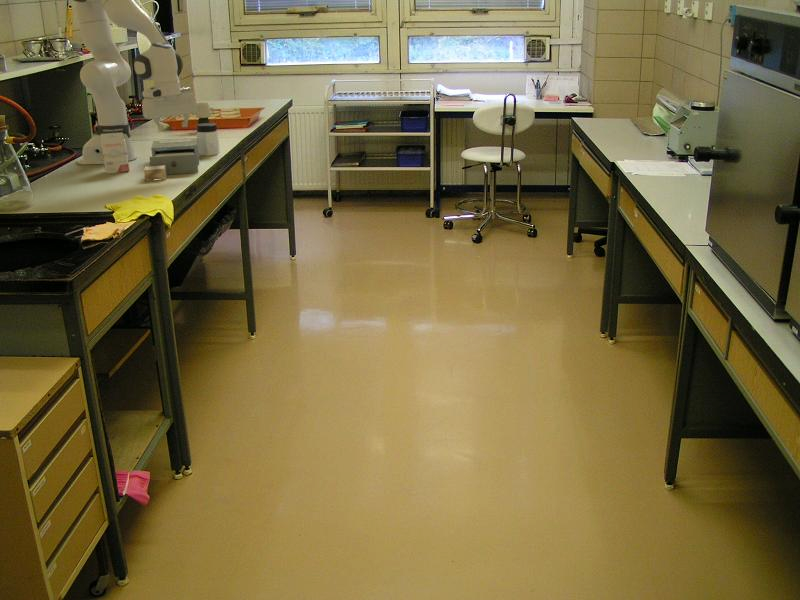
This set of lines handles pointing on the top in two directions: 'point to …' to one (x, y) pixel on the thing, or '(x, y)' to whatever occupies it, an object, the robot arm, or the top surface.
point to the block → (155, 172)
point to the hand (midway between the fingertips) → (173, 128)
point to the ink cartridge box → (114, 153)
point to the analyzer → (175, 147)
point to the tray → (176, 162)
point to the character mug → (203, 112)
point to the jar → (208, 139)
